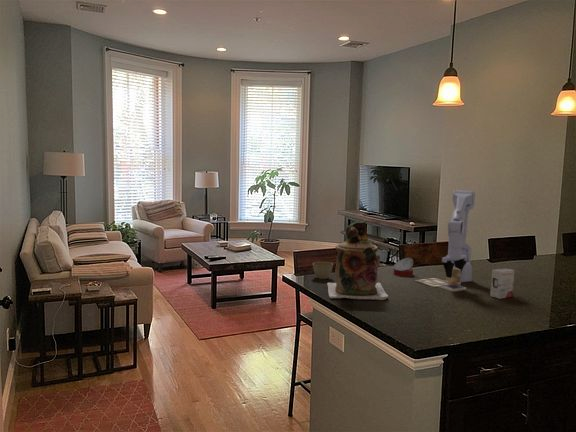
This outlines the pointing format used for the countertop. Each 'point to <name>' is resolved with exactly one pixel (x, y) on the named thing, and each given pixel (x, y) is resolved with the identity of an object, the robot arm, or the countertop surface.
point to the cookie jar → (357, 267)
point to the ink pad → (452, 287)
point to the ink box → (502, 283)
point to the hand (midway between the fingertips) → (453, 276)
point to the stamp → (454, 277)
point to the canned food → (403, 267)
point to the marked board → (432, 282)
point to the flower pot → (322, 269)
